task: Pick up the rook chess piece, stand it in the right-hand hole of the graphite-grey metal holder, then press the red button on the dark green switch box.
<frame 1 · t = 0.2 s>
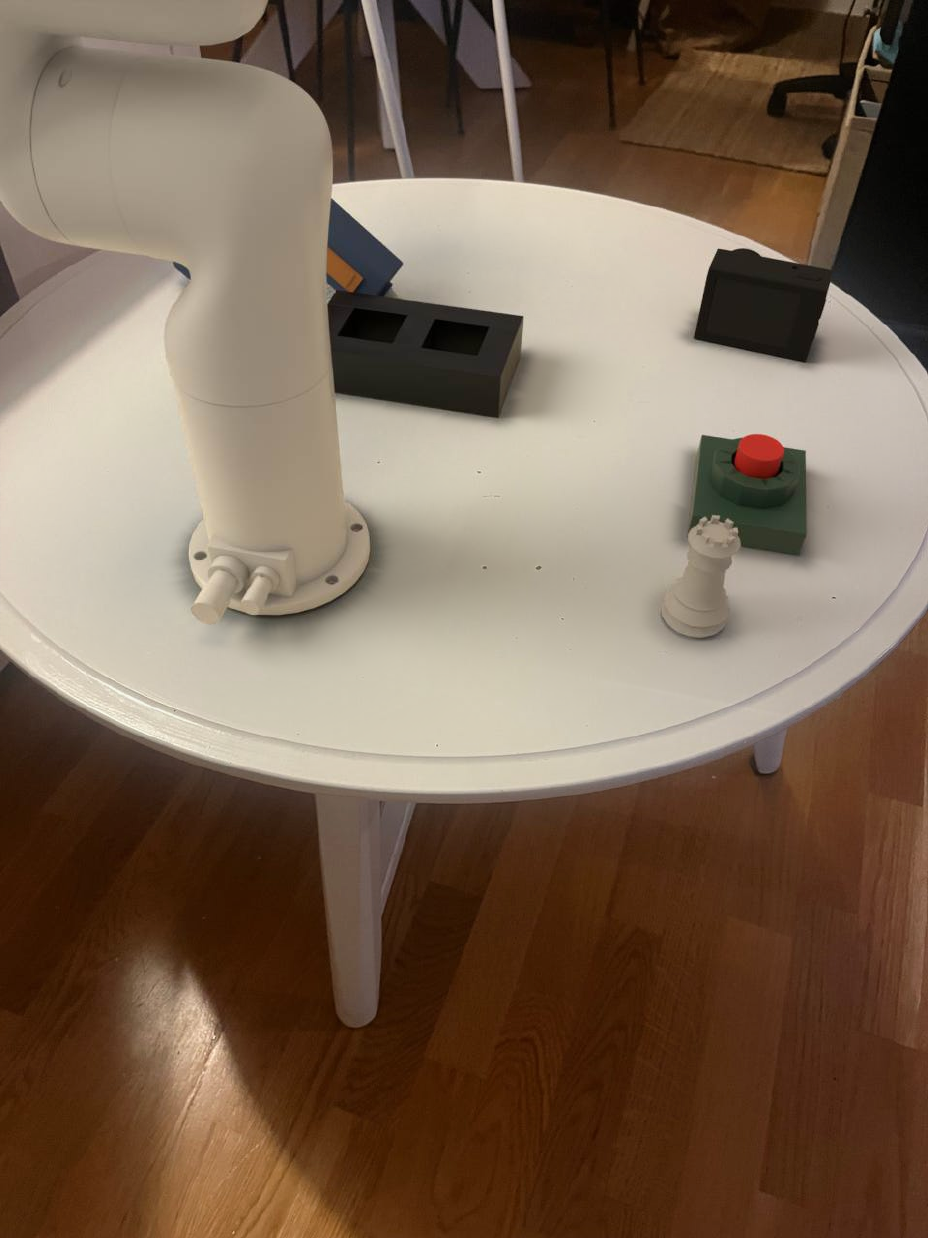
switch box: (744, 504, 74), on the table
holder: (414, 371, 86), on the table
rook chess piece: (692, 619, 66), on the table
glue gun: (292, 295, 95), on the table
power button: (758, 456, 71), point 4 cm above the table, slide at 0.1 cm
digital camera: (753, 338, 91), on the table
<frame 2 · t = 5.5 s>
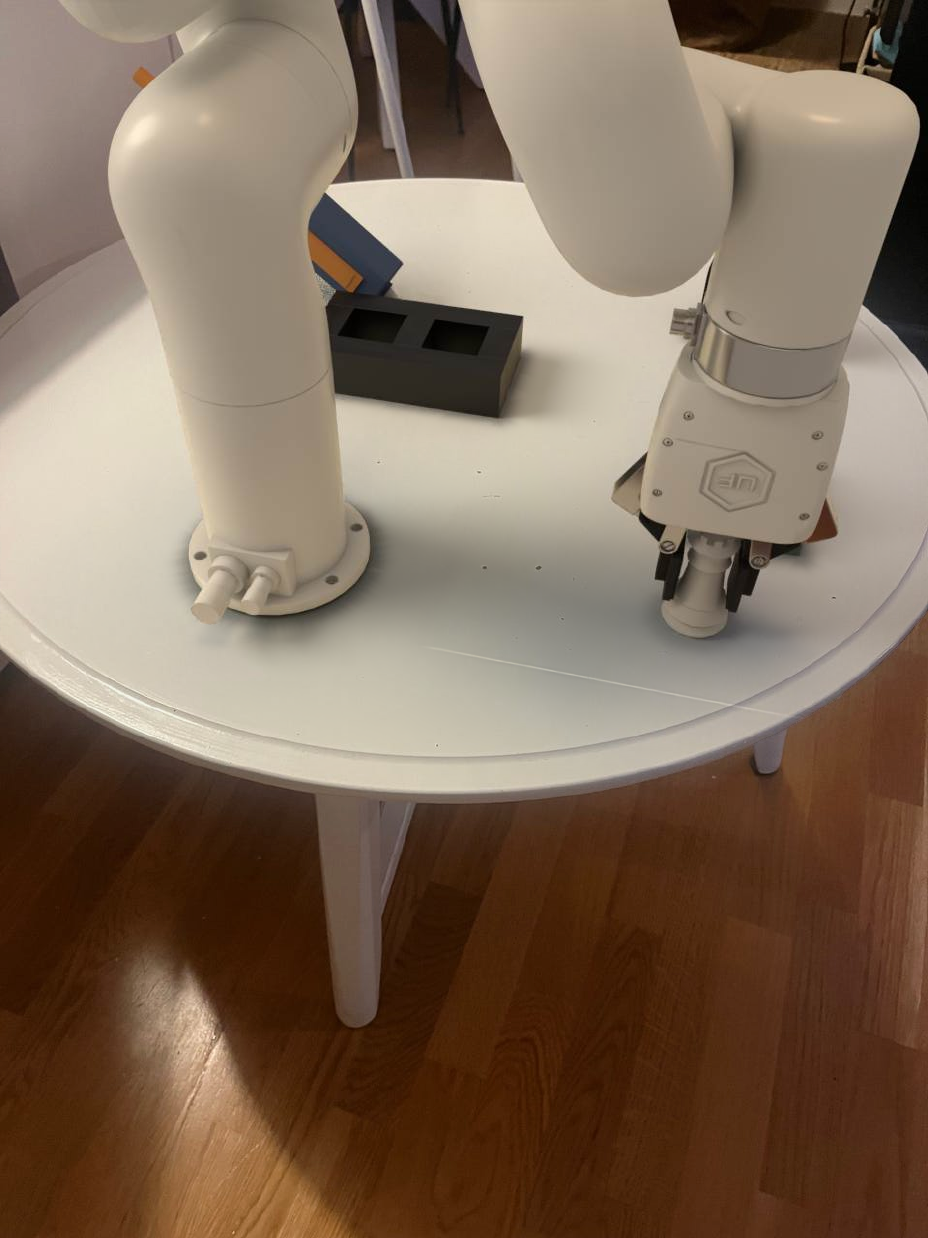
hand: (700, 589, 64), 3 cm above the table, tool pointing down, fingers closed on rook chess piece, 3 cm apart
rook chess piece: (692, 619, 66), on the table, touching gripper
everything else where it was.
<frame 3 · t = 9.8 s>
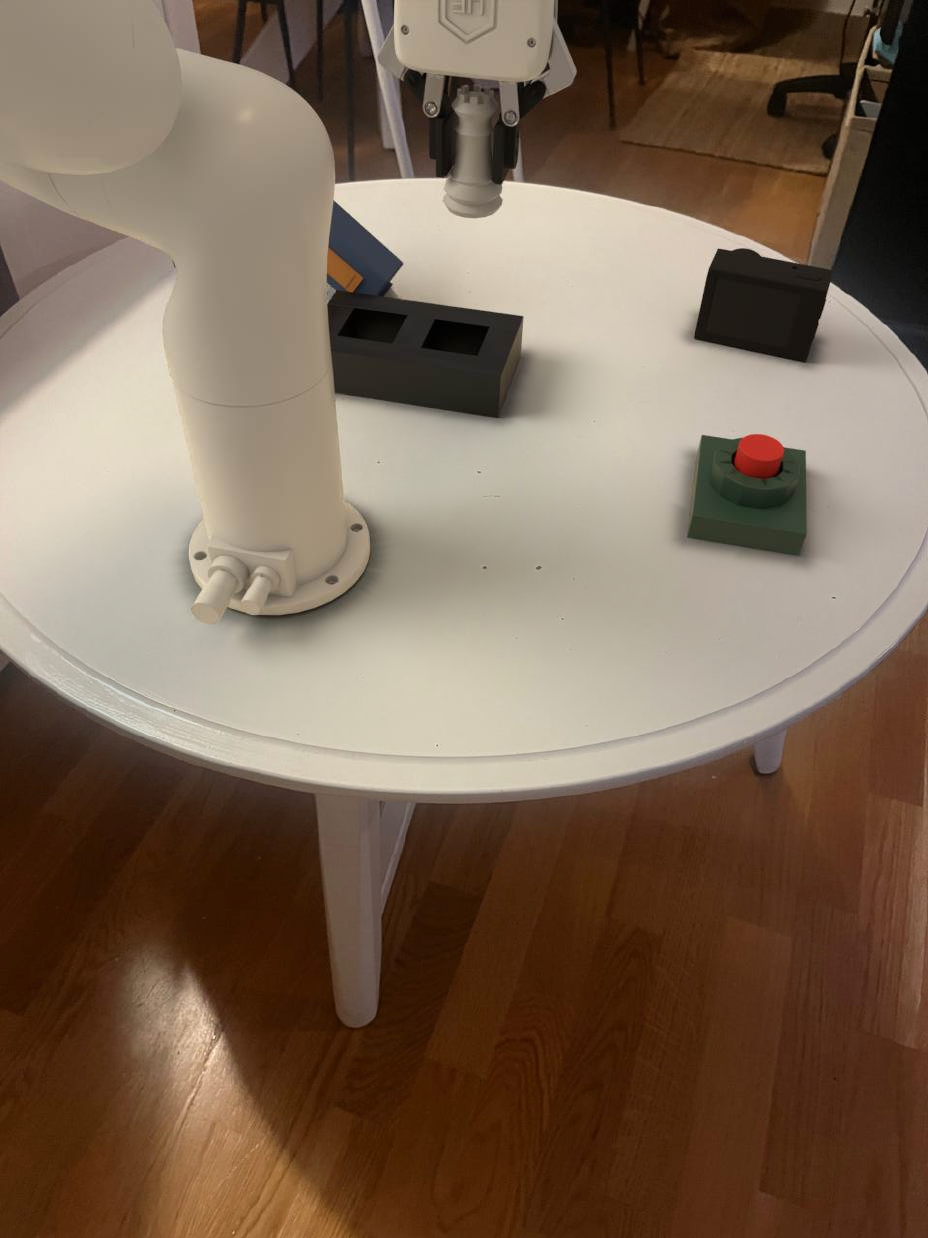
hand: (473, 170, 70), 19 cm above the table, tool pointing down, fingers closed on rook chess piece, 3 cm apart
rook chess piece: (472, 209, 73), point 16 cm above the table, touching gripper
everything else where it was.
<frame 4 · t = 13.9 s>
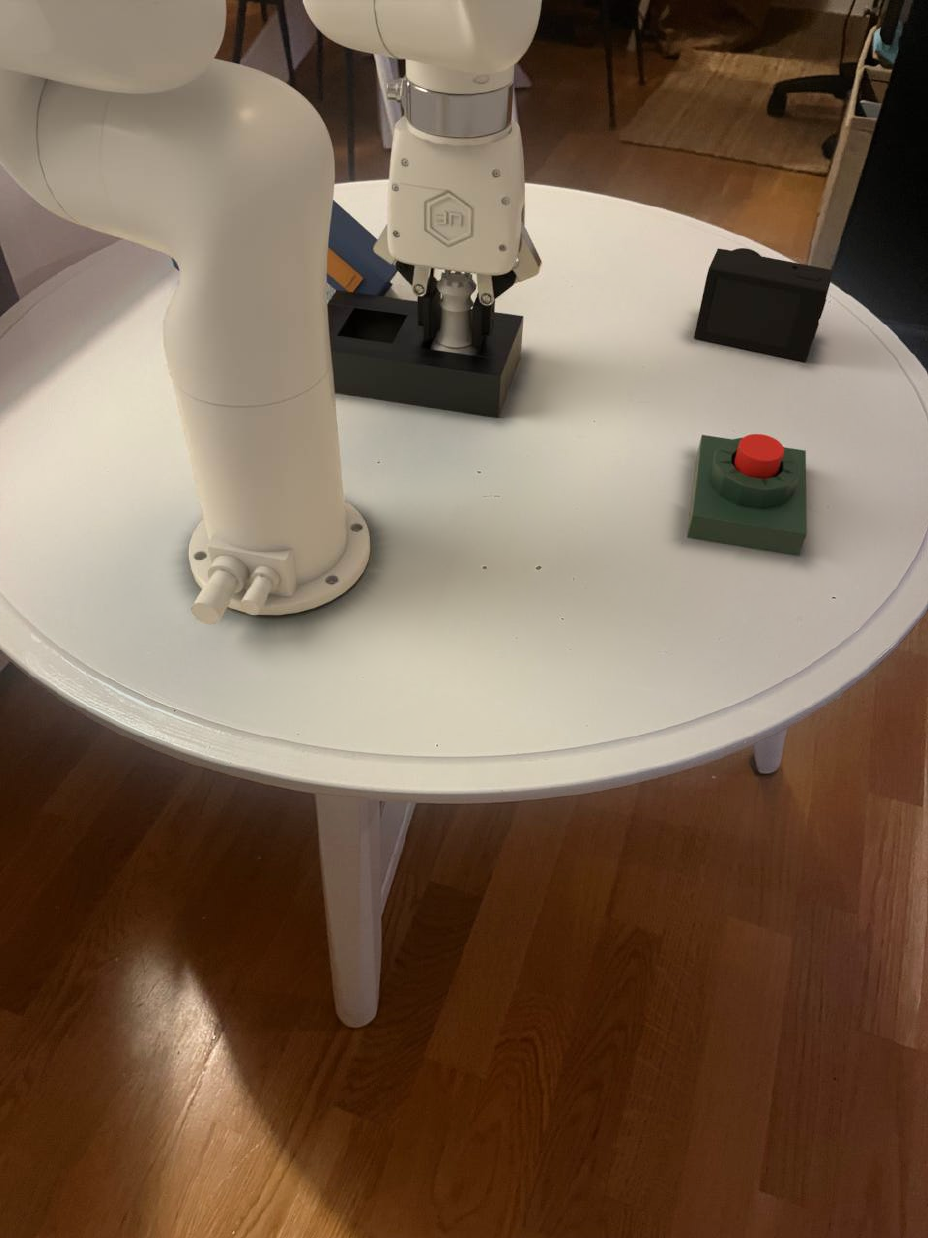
hand: (455, 334, 82), 4 cm above the table, tool pointing down, fingers closed on rook chess piece, 3 cm apart
rook chess piece: (455, 363, 84), point 1 cm above the table, touching gripper
everything else where it was.
when the fingers open (4 cm above the table, at t = 14.2 s): rook chess piece drops 2 cm, resting in holder.
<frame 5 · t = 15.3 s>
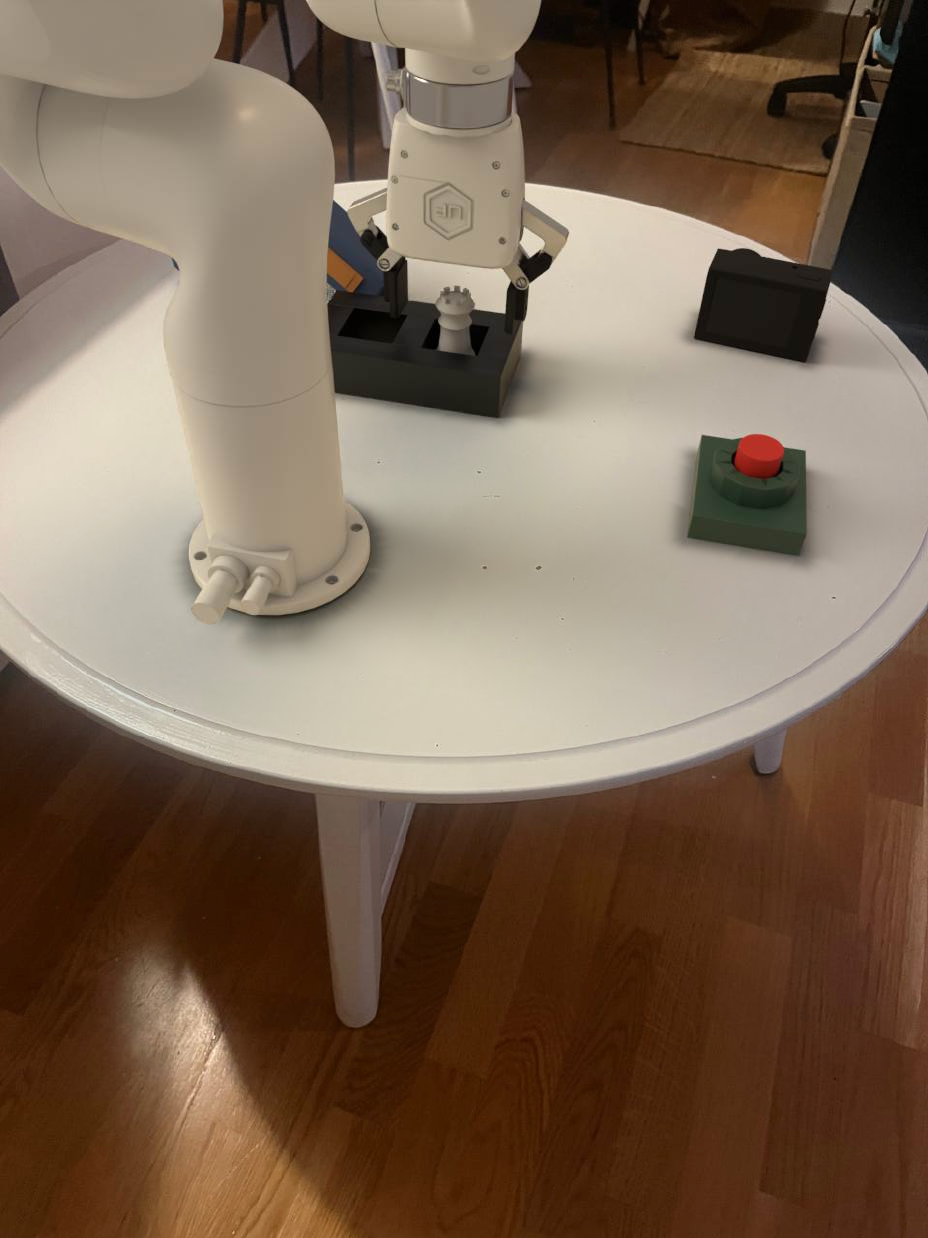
hand: (455, 317, 81), 6 cm above the table, tool pointing down, fingers open, 9 cm apart
rook chess piece: (454, 380, 85), resting in holder
everything else where it was.
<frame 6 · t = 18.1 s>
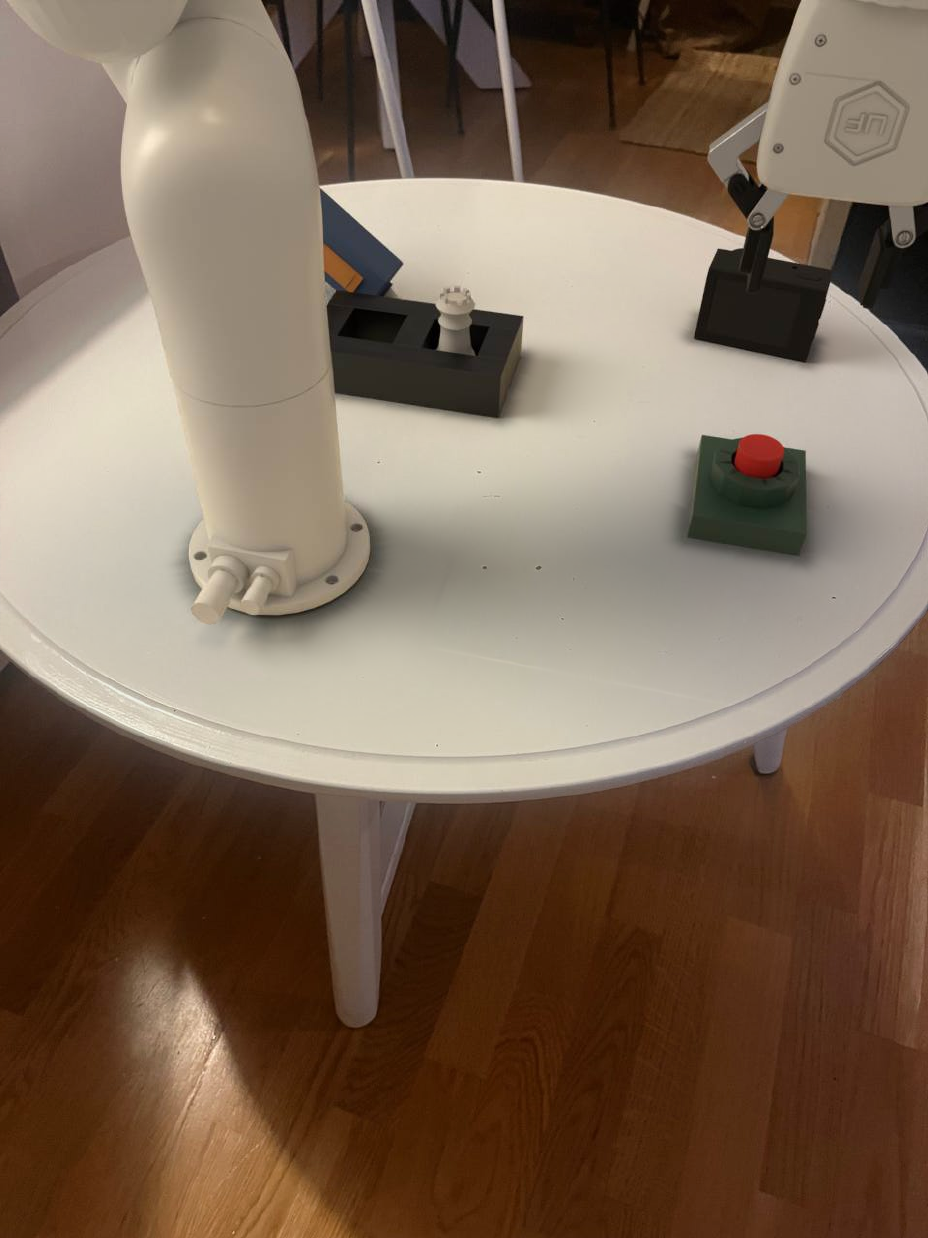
hand: (809, 288, 61), 18 cm above the table, tool pointing down, fingers open, 6 cm apart
nothing on the table moved.
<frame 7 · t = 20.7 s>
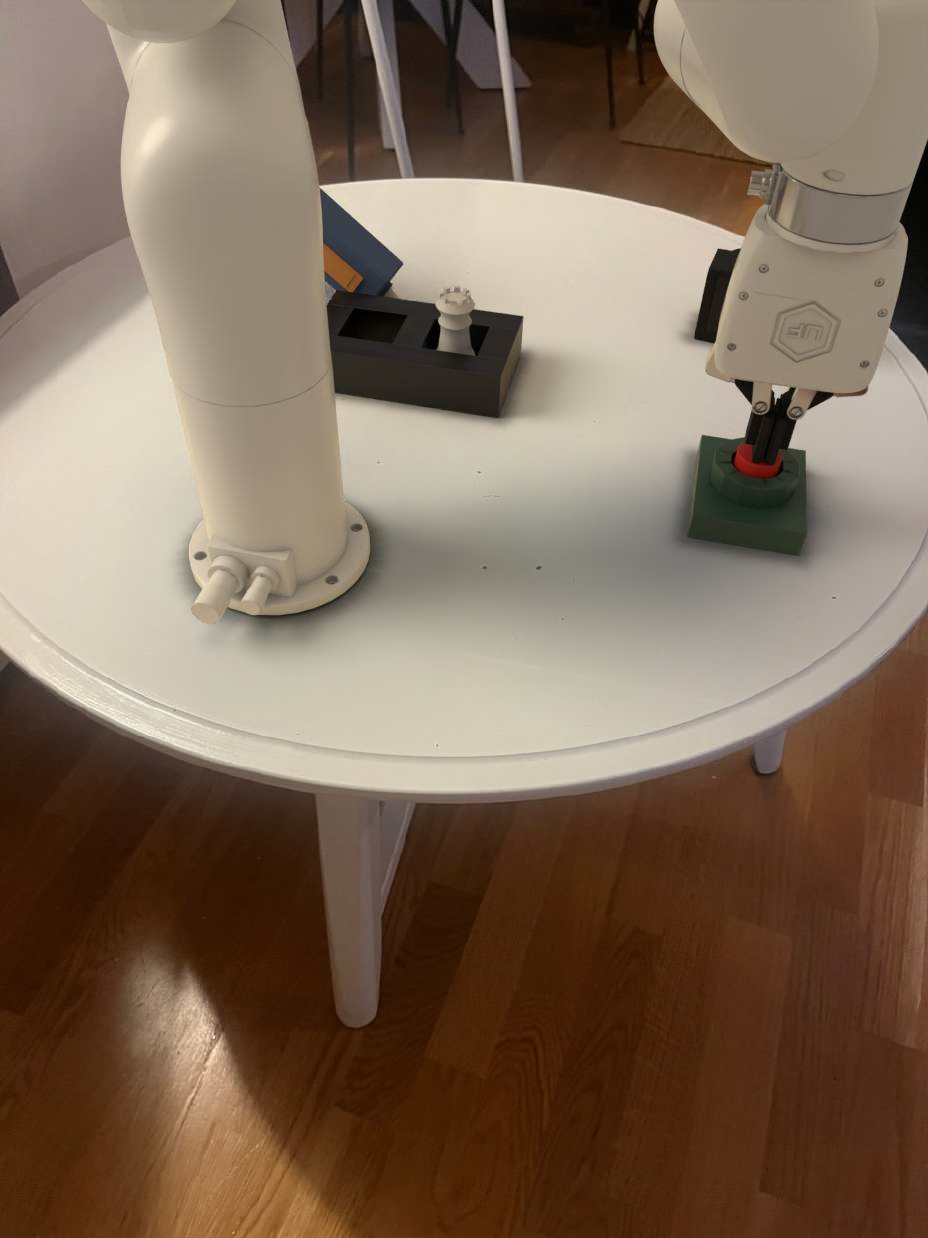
hand: (763, 452, 71), 5 cm above the table, tool pointing down, fingers closed
power button: (757, 462, 71), point 4 cm above the table, slide at -0.4 cm, touching gripper
everything else where it was.
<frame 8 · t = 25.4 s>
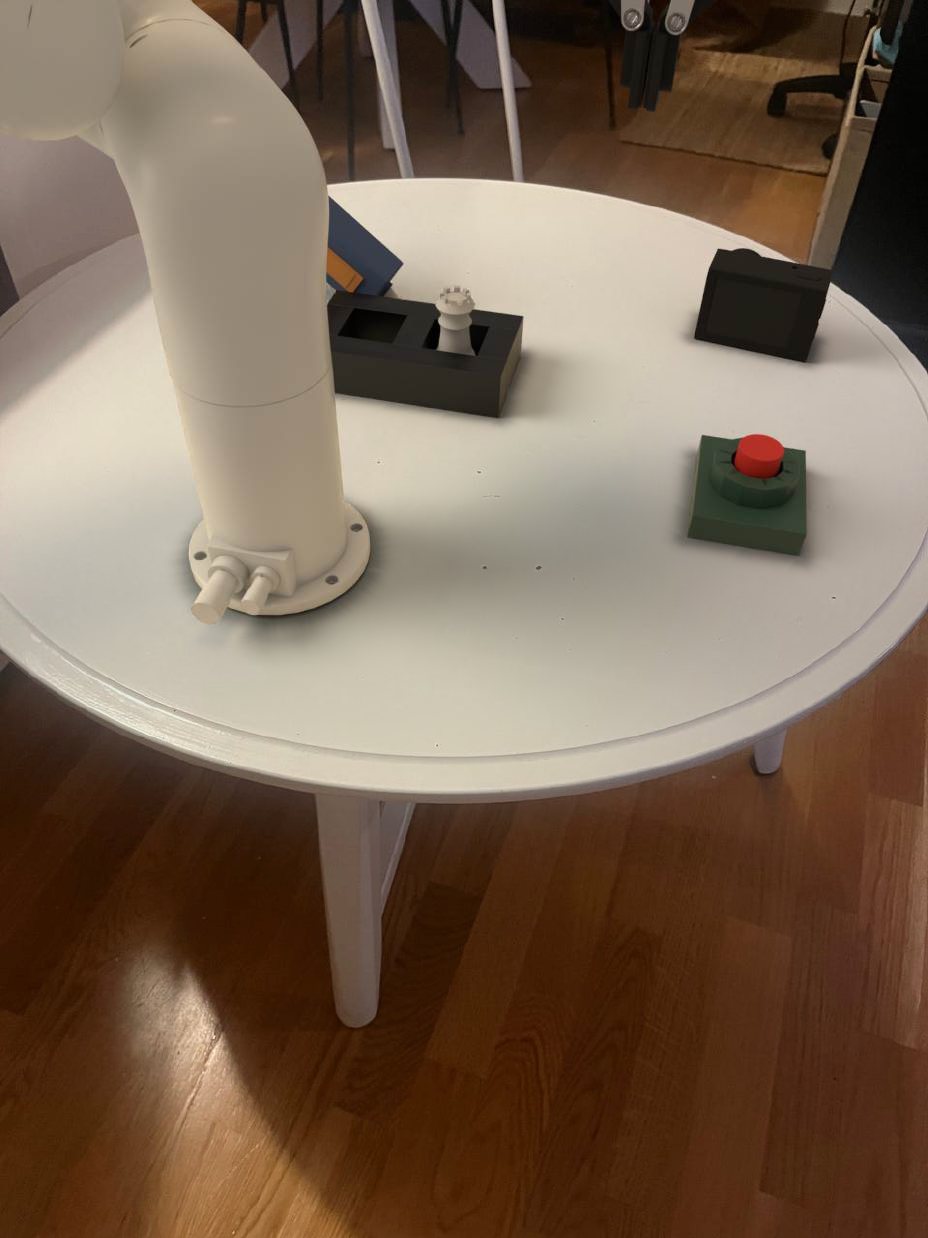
hand: (643, 101, 57), 27 cm above the table, tool pointing down, fingers closed
power button: (758, 456, 71), point 4 cm above the table, slide at 0.1 cm
everything else where it was.
at the end: rook chess piece 0.1 cm from the target spot in the holder, point 0.0 cm above the holder's base; rook chess piece tilted 0°; power button pushed in 1.1 cm at the most during the clip, back to where it started at the end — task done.
